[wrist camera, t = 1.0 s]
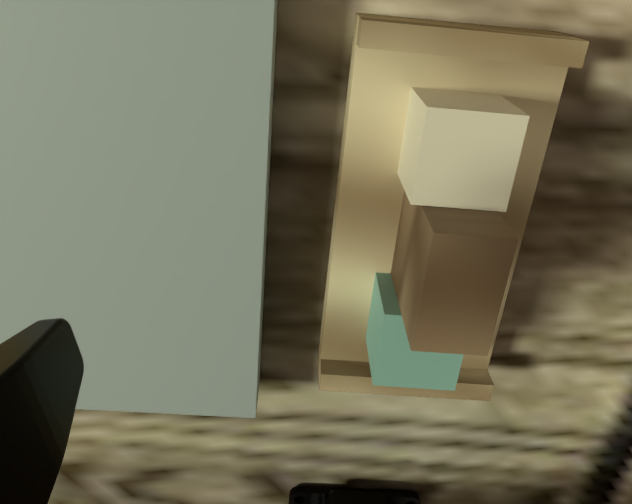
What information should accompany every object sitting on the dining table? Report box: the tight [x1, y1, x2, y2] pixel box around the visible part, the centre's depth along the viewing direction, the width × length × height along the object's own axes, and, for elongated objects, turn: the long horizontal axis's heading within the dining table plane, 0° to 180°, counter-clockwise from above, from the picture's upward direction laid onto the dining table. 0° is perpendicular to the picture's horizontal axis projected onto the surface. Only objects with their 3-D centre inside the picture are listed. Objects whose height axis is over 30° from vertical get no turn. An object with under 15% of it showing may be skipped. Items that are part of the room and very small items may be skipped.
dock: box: [0, 0, 278, 418], centre depth 22 cm, size 17×10×2 cm, turn 175°
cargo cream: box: [397, 87, 530, 212], centre depth 19 cm, size 3×3×3 cm
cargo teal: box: [366, 272, 464, 391], centre depth 22 cm, size 3×3×3 cm
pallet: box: [318, 13, 590, 401], centre depth 21 cm, size 14×7×7 cm, turn 175°
